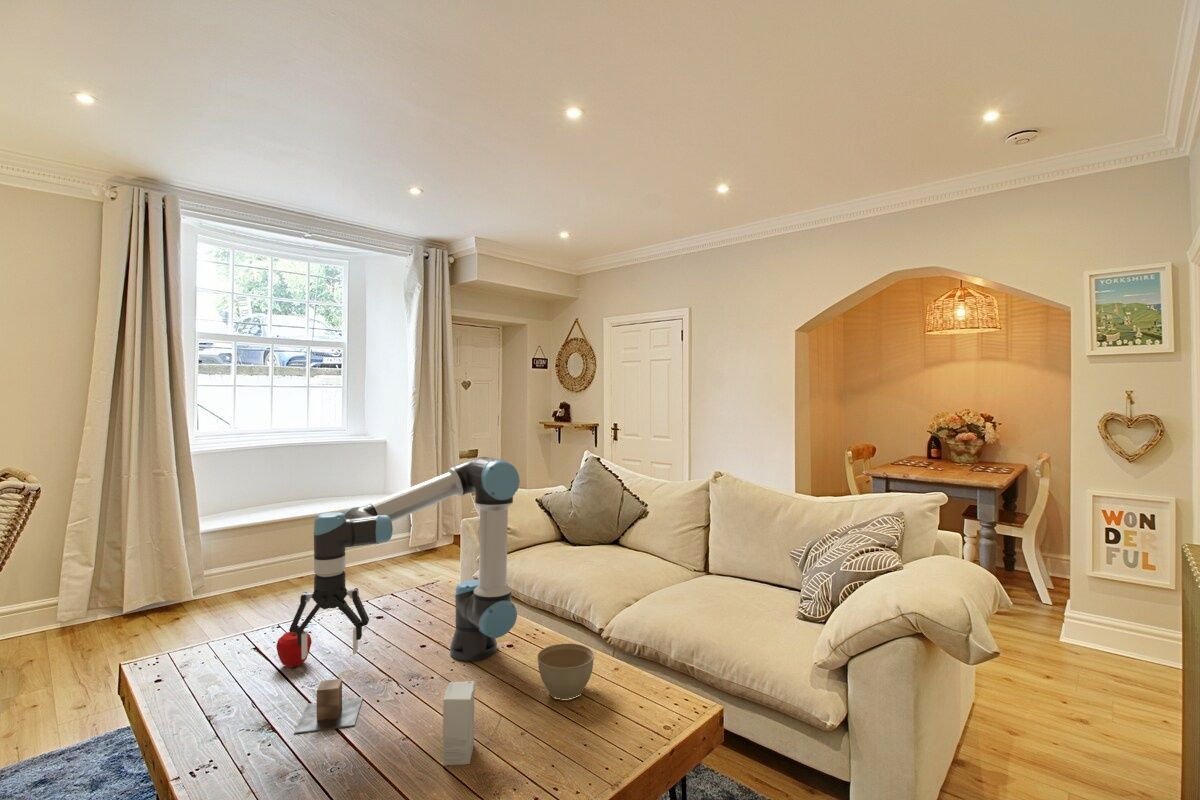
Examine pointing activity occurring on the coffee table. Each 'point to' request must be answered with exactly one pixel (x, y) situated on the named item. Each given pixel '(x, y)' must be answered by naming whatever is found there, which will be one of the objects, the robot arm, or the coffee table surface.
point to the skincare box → (458, 723)
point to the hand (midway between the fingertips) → (330, 654)
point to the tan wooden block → (329, 699)
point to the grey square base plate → (345, 719)
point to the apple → (291, 649)
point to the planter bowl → (565, 669)
